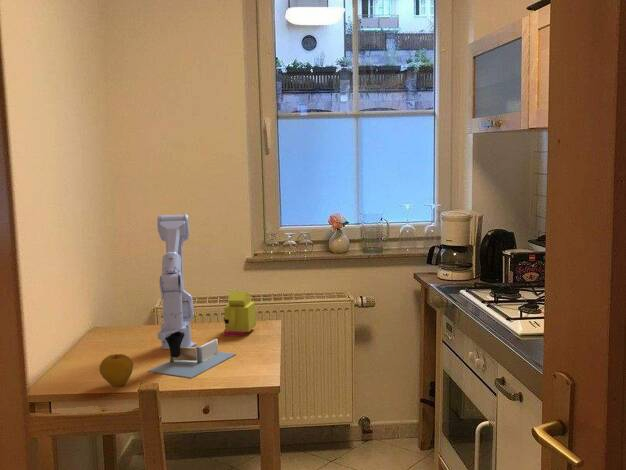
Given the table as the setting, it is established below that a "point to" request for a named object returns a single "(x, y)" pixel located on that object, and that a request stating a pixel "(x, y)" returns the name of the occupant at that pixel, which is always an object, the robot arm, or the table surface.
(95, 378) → the table surface
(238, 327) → the toy
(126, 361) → the apple
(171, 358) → the fence panel
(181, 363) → the mat
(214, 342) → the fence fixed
